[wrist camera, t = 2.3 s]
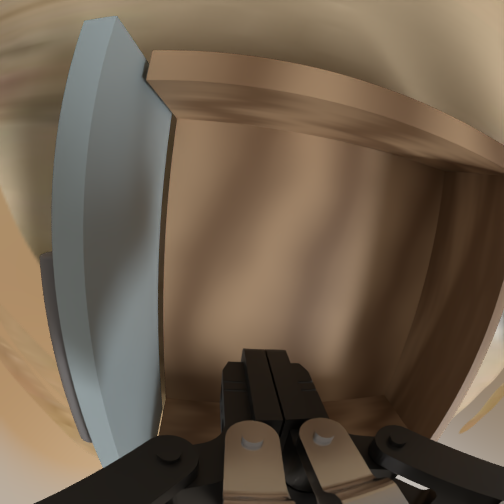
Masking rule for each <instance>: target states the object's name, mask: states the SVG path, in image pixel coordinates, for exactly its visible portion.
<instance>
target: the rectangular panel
mask: <svg viewBox="0 0 504 504" xmlns="http://www.w3.org/2000/svg"><path fill="white" fill-rule="evenodd" d="M148 69H149V63H148V61H147V60H146V58H145V57H144V55H143V54H142V52H141V51H140V49H139V48H138V46H137V45H136V43H135V42H134V40H133V39H132V37H131V36H130V34H129V33H128V31H127V30H126V28H125V27H124V25H123V24H122V22H121V21H120V20H119V18H118V17H117V16H111V17H104V18H98V19H92V20H86V21H84V23H83V26H82V29H81V32H80V35H79V38H78V42H77V45H76V48H75V52H74V55H73V59H72V62H71V66H70V70H69V74H68V78H67V82H66V87H65V92H64V96H63V102H62V107H61V112H60V118H59V125H58V132H57V139H56V148H55V157H54V169H53V184H52V252H46V253H43V254H41V255H40V268H41V278H42V287H43V295H44V302H45V308H46V315H47V319H48V326H49V331H50V336H51V341H52V345H53V350H54V354H55V358H56V362H57V366H58V370H59V374H60V377H61V381H62V384H63V388H64V391H65V394H66V397H67V400H68V403H69V406H70V409H71V412H72V415H73V418H74V421H75V423H76V426H77V429H78V431H79V434H80V436H81V438H82V439H83V440H84V441H86V442H90V443H92V442H93V445H94V447H95V450H96V452H97V455H98V457H99V460H100V462H101V464H102V467H103V468H104V467H106V466H107V465H109V464H111V463H113V462H114V461H116V460H118V459H119V458H121V457H122V456H124V455H126V454H127V453H129V452H131V451H132V450H134V449H135V448H137V447H139V446H140V445H142V444H143V443H145V442H146V441H148V440H149V439H151V438H153V437H156V436H157V434H158V429H159V423H160V418H161V413H162V397H161V383H160V366H159V342H158V263H159V238H160V221H161V206H162V194H163V182H164V172H165V163H166V154H167V146H168V138H169V130H170V123H171V116H172V112H171V111H170V109H169V108H168V107H167V105H166V104H165V103H164V102H163V100H162V99H161V98H160V97H159V95H158V94H157V93H156V92H155V90H154V89H153V88H152V87H151V85H150V84H149V83H148V82H147V80H146V78H147V74H148Z"/></svg>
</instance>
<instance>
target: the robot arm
mask: <svg viewBox="0 0 504 504" xmlns="http://www.w3.org/2000/svg"><path fill="white" fill-rule="evenodd" d="M220 420H221V422H220V423H221V434H220V435H219V436H218V437H217V438H215V439H213V440H211V441H208V442H205V443H200V444H194V445H192V444H191V443H190V442H189V441H187V440H186V439H184V438H181V437H178V436H174V435H160V436H156V437H153V438H151V439H149V440H148V441H146V442H145V443H143V444H142V445H140V446H139V447H137V448H135V449H134V450H132V451H131V452H129V453H127V454H126V455H124V456H122V457H121V458H119V459H118V460H116V461H114V462H113V463H111V464H109V465H107V466H106V467H104V468H102V469H101V470H99V471H97V472H96V473H94V474H92V475H90V476H88V477H86V478H84V479H83V480H81V481H79V482H77V483H75V484H73V485H71V486H69V487H68V488H66V489H64V490H62V491H60V492H58V493H56V494H54V495H52V496H49V497H47V498H45V499H43V500H41V501H39V502H37V503H34V504H504V467H502V466H499V465H496V464H493V463H490V462H487V461H485V460H481V459H479V458H476V457H474V456H471V455H468V454H466V453H463V452H461V451H458V450H455V449H453V448H451V447H448V446H445V445H443V444H441V443H438V442H436V441H434V440H431V439H429V438H427V437H424V436H422V435H420V434H418V433H415V432H413V431H411V430H409V429H407V428H404V427H402V426H397V425H388V426H385V427H382V428H381V429H379V431H378V432H377V433H376V435H375V437H374V436H361V435H353V434H348V433H347V431H346V429H345V428H344V427H343V426H342V425H341V424H339V423H338V422H336V421H334V420H331V419H329V417H328V414H327V412H326V410H325V408H324V405H323V403H322V401H321V399H320V396H319V394H318V392H317V391H316V388H315V385H314V383H312V379H311V376H310V374H309V372H308V371H307V370H306V369H305V368H304V367H303V366H302V365H301V364H299V363H290V360H289V357H288V355H287V352H286V350H276V349H265V350H264V349H246V348H243V350H242V356H241V362H230V361H228V362H227V364H226V365H225V367H224V368H223V370H222V381H221V392H220ZM397 475H400V476H402V477H405V478H407V479H409V480H411V481H413V482H416V483H418V484H420V485H423V486H425V487H427V488H430V489H427V490H421V489H418V488H416V487H414V486H411V485H409V484H407V483H405V482H403V481H401V480H398V479H396V478H395V477H396V476H397Z"/></svg>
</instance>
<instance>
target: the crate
mask: <svg viewBox="0 0 504 504" xmlns="http://www.w3.org/2000/svg"><path fill="white" fill-rule="evenodd" d="M146 80H147V82H148V83H149V84H150V85H151V87H152V88H153V89H154V90H155V92H156V93H157V94H158V95H159V97H160V98H161V99H162V100H163V102H164V103H165V104H166V105H167V107H168V108H169V109H170V111H171V112H172V113H173V114H174V116H175V117H176V118H177V123H176V130H175V138H174V146H173V154H172V163H171V172H170V182H169V193H168V205H167V219H166V235H165V255H164V287H163V339H164V371H165V390H166V400H165V405H164V410H163V416H162V421H161V426H160V432H159V436H160V435H174V436H178V437H181V438H184V439H186V440H187V441H189V442H190V443H191V444H192V445H194V444H200V443H205V442H208V441H211V440H213V439H215V438H217V437H218V436H219V435H220V434H221V423H220V422H221V420H220V392H221V381H222V370H223V368H224V367H225V365H226V364H227V362H228V361H230V362H241V356H242V350H243V348H246V349H264V350H265V349H276V350H286V352H287V355H288V357H289V360H290V363H299V364H301V365H302V366H303V367H304V368H305V369H306V370H307V371H308V372H309V374H310V376H311V379H312V383H314V385H315V388H316V391H317V392H318V394H319V396H320V399H321V401H322V403H323V405H324V408H325V410H326V412H327V414H328V417H329V419H331V420H334V421H336V422H338V423H339V424H341V425H342V426H343V427H344V428H345V429H346V431H347V433H348V434H353V435H361V436H374V437H375V435H376V433H377V432H378V431H379V429H381V428H382V427H385V426H388V425H397V426H402V427H404V428H407V429H409V430H411V431H413V432H415V433H418V434H420V435H422V436H424V437H427V438H429V439H431V440H434V441H436V442H437V441H438V439H439V438H440V436H441V434H442V433H443V432H444V430H445V429H446V427H447V425H448V424H449V422H450V421H451V419H452V418H453V416H454V414H455V413H456V411H457V409H458V408H459V406H460V404H461V403H462V401H463V399H464V397H465V395H466V394H467V392H468V390H469V388H470V386H471V384H472V382H473V380H474V378H475V376H476V374H477V372H478V370H479V368H480V366H481V364H482V362H483V360H484V358H485V355H486V353H487V351H488V348H489V346H490V344H491V341H492V339H493V336H494V334H495V331H496V329H497V326H498V323H499V321H500V318H501V315H502V312H503V309H504V145H502V144H500V143H499V142H497V141H496V140H494V139H492V138H491V137H489V136H487V135H485V134H484V133H482V132H480V131H479V130H477V129H475V128H473V127H471V126H469V125H468V124H466V123H464V122H462V121H460V120H458V119H456V118H454V117H452V116H450V115H448V114H446V113H444V112H442V111H440V110H437V109H435V108H433V107H431V106H429V105H426V104H424V103H422V102H419V101H417V100H415V99H412V98H410V97H407V96H405V95H402V94H400V93H397V92H394V91H392V90H389V89H386V88H383V87H381V86H378V85H375V84H372V83H369V82H366V81H362V80H359V79H356V78H353V77H349V76H346V75H342V74H339V73H335V72H331V71H327V70H323V69H319V68H315V67H311V66H306V65H301V64H297V63H292V62H286V61H281V60H275V59H269V58H263V57H256V56H248V55H240V54H231V53H220V52H207V51H185V50H153V51H152V55H151V60H150V64H149V69H148V74H147V78H146Z"/></svg>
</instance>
